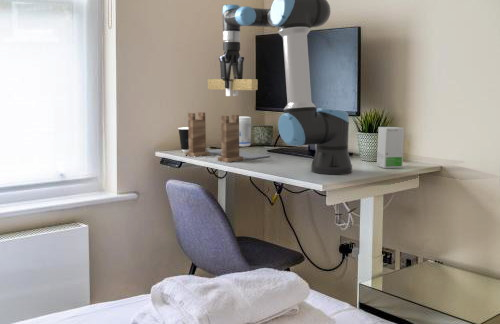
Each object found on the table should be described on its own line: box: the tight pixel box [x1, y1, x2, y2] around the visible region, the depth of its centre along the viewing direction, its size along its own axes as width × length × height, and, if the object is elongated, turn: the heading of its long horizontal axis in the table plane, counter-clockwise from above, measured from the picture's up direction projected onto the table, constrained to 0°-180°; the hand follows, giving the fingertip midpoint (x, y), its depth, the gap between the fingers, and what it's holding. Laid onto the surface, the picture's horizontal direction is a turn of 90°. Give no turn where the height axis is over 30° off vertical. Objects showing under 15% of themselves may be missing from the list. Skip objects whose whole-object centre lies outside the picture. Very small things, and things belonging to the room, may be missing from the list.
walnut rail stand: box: [184, 111, 244, 163], centre depth 238 cm, size 28×9×19 cm, turn 45°
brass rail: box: [207, 78, 259, 91], centre depth 242 cm, size 28×4×4 cm, turn 46°
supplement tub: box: [239, 115, 252, 148], centre depth 279 cm, size 10×10×15 cm
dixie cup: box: [177, 126, 189, 153], centre depth 260 cm, size 8×8×11 cm
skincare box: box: [376, 126, 405, 169], centre depth 214 cm, size 8×7×16 cm
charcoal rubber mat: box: [207, 148, 271, 161], centre depth 248 cm, size 32×12×1 cm, turn 45°
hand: (232, 95), depth 243 cm, fingers closed on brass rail, 3 cm apart
